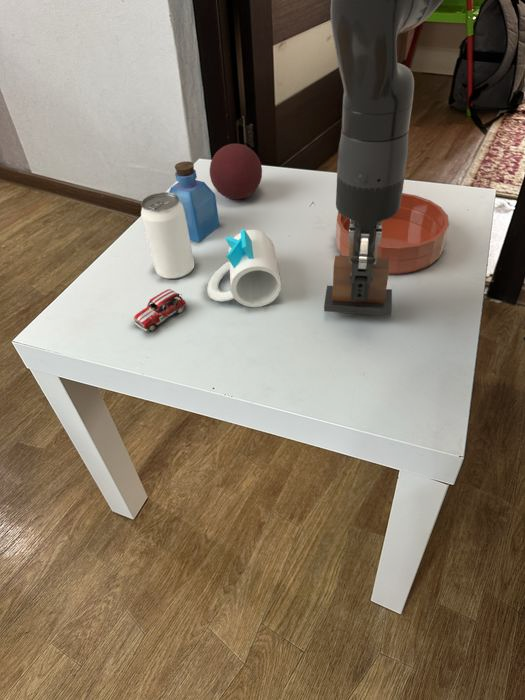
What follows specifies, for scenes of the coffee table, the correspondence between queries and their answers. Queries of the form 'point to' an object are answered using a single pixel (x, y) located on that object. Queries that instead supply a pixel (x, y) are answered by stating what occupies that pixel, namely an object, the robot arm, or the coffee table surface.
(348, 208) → the robot arm
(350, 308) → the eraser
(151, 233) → the can
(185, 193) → the perfume bottle
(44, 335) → the coffee table surface
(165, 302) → the toy car
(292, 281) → the coffee table surface
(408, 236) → the bowl
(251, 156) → the decorative ball
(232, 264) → the mug
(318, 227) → the coffee table surface
